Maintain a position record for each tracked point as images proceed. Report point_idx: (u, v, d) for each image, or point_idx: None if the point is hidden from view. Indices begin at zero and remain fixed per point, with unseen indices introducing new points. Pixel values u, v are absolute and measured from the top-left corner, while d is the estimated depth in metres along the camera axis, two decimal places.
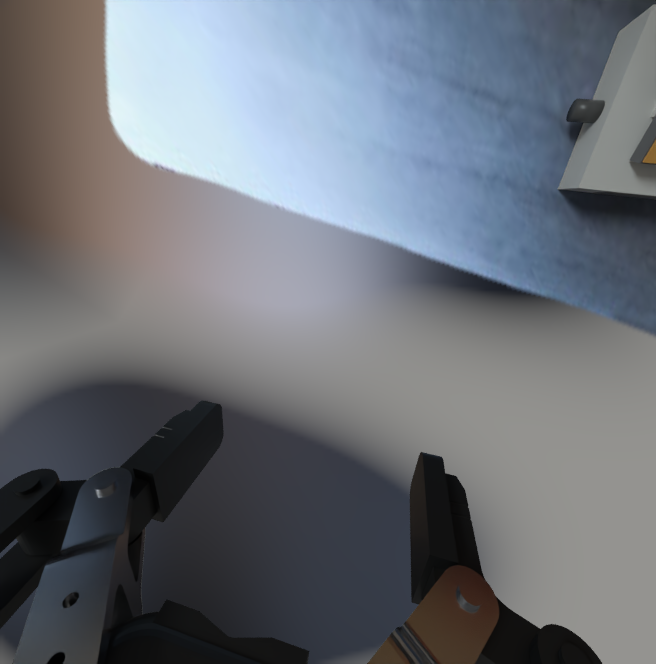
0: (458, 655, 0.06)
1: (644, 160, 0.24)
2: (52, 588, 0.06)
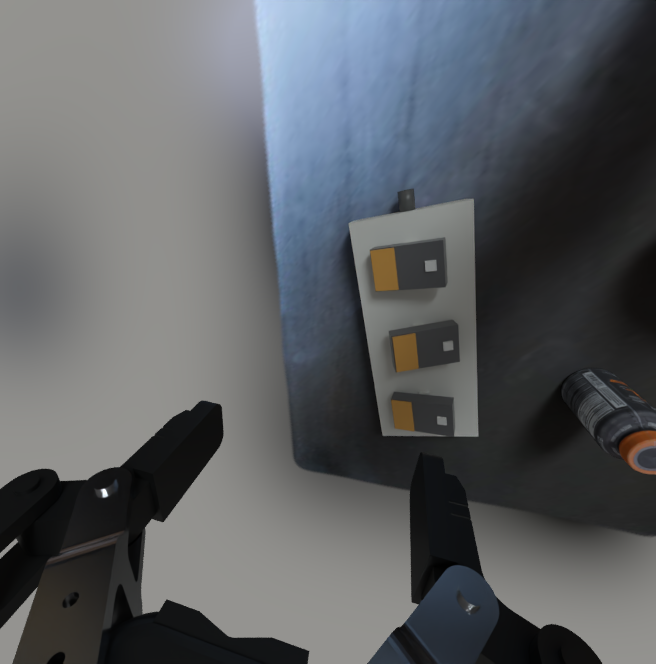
0: (458, 655, 0.06)
1: (371, 251, 0.31)
2: (52, 588, 0.06)
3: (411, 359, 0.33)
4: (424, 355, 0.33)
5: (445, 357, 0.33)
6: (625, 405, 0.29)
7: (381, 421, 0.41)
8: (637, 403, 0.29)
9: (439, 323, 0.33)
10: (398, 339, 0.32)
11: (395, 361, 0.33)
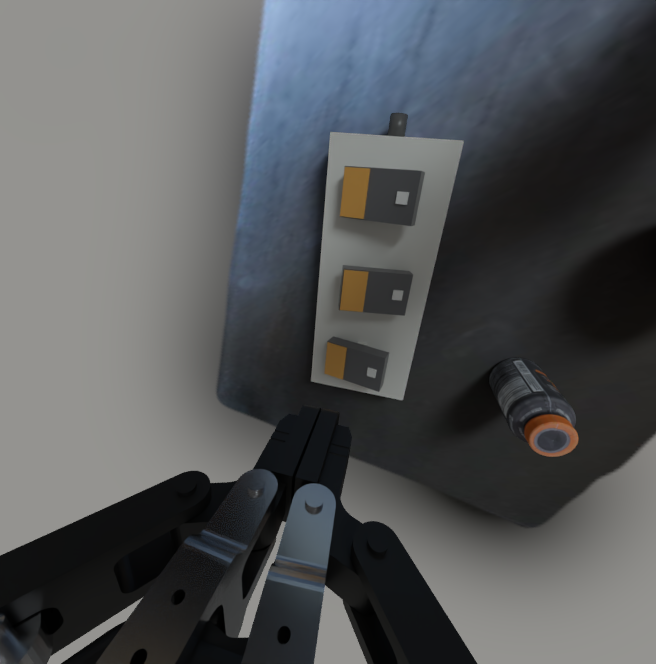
0: (286, 537, 0.07)
1: (346, 167, 0.28)
2: (175, 571, 0.06)
3: (357, 299, 0.31)
4: (371, 299, 0.31)
5: (391, 307, 0.32)
6: (541, 390, 0.30)
7: (313, 365, 0.39)
8: (552, 391, 0.30)
9: (395, 270, 0.31)
10: (349, 273, 0.30)
11: (341, 297, 0.31)
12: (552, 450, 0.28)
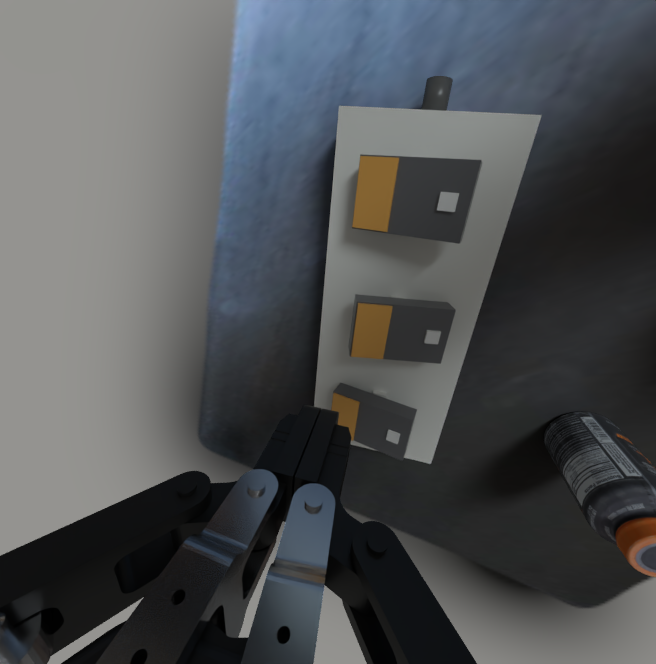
0: (286, 537, 0.07)
1: (362, 156, 0.19)
2: (175, 571, 0.06)
3: (376, 343, 0.22)
4: (395, 342, 0.23)
5: (423, 352, 0.23)
6: (639, 475, 0.21)
7: None
8: (655, 476, 0.21)
9: (429, 302, 0.22)
10: (366, 308, 0.21)
11: (353, 340, 0.22)
12: None
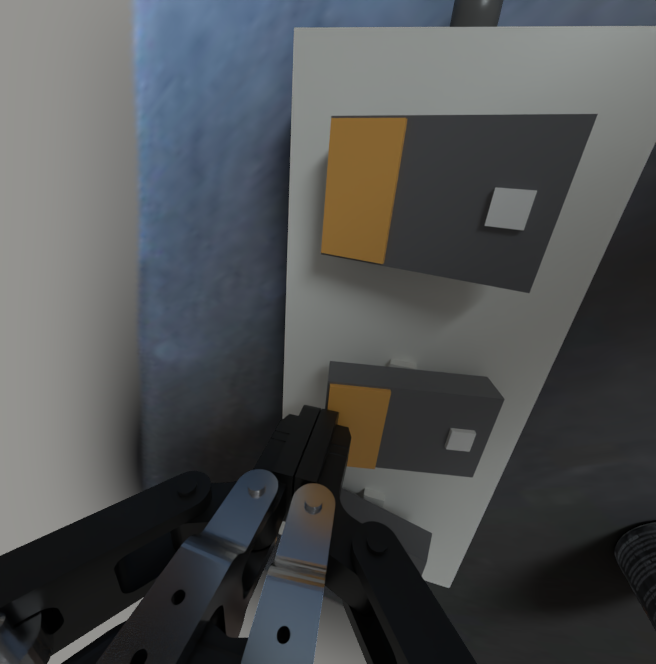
0: (285, 537, 0.07)
1: (335, 120, 0.10)
2: (175, 571, 0.06)
3: (363, 446, 0.13)
4: (396, 445, 0.13)
5: (444, 460, 0.14)
6: None
7: None
8: None
9: (456, 378, 0.13)
10: (344, 394, 0.12)
11: None
12: None
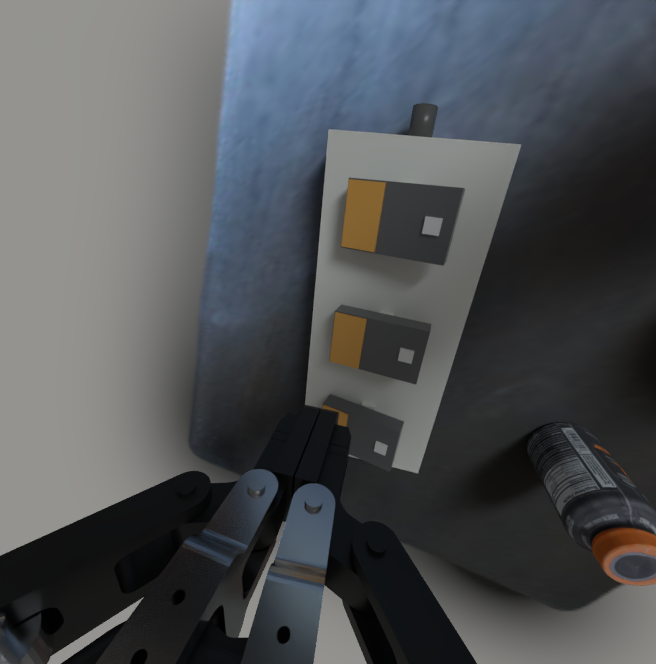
0: (285, 537, 0.07)
1: (351, 180, 0.19)
2: (175, 571, 0.06)
3: (352, 352, 0.24)
4: (370, 355, 0.23)
5: (398, 370, 0.23)
6: (614, 486, 0.22)
7: None
8: (629, 487, 0.22)
9: (409, 321, 0.23)
10: (342, 318, 0.23)
11: (331, 346, 0.24)
12: (635, 578, 0.20)
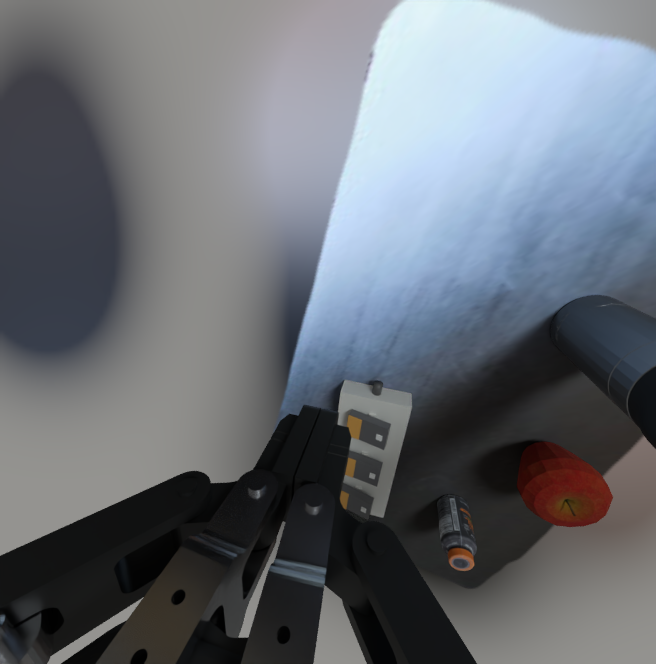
0: (285, 537, 0.07)
1: (349, 415, 0.51)
2: (175, 571, 0.06)
3: (350, 471, 0.55)
4: (358, 473, 0.55)
5: (369, 480, 0.55)
6: (458, 530, 0.54)
7: None
8: (465, 530, 0.54)
9: (374, 461, 0.54)
10: None
11: None
12: (461, 567, 0.52)
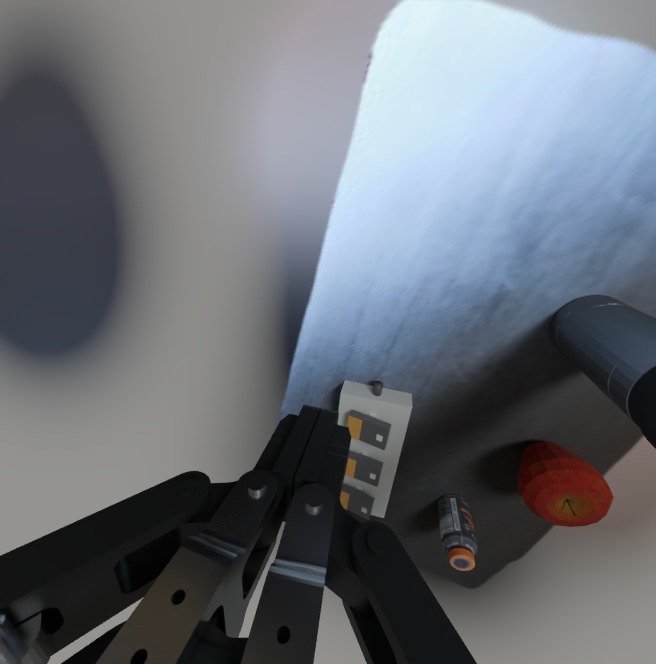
0: (285, 537, 0.07)
1: (349, 416, 0.51)
2: (175, 571, 0.06)
3: (350, 471, 0.55)
4: (358, 473, 0.55)
5: (370, 480, 0.55)
6: (459, 530, 0.54)
7: None
8: (465, 530, 0.54)
9: (374, 461, 0.54)
10: None
11: None
12: (462, 567, 0.52)
